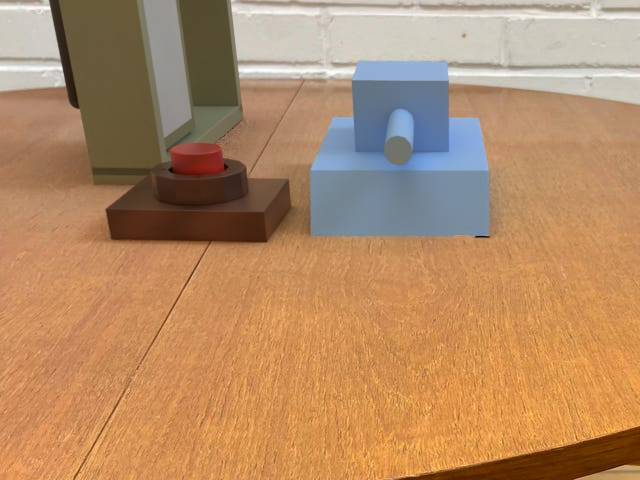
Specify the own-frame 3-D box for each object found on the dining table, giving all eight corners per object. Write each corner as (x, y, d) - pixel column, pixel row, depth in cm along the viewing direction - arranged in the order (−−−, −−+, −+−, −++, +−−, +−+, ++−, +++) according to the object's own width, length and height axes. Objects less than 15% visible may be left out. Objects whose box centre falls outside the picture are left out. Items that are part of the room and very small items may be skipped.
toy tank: (493, 105, 64) (298, 104, 64) (491, 242, 69) (310, 242, 69) (479, 53, 83) (328, 52, 82) (478, 164, 88) (336, 163, 87)
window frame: (94, 184, 80) (45, -64, 71) (188, 117, 104) (161, -75, 95) (165, 186, 80) (127, -63, 71) (243, 118, 104) (222, -74, 95)
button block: (111, 240, 68) (99, 182, 66) (151, 204, 75) (142, 151, 73) (267, 243, 68) (261, 185, 65) (291, 207, 75) (286, 154, 73)
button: (166, 179, 68) (163, 153, 67) (181, 166, 71) (177, 142, 70) (217, 180, 68) (214, 154, 67) (230, 167, 71) (227, 142, 70)
